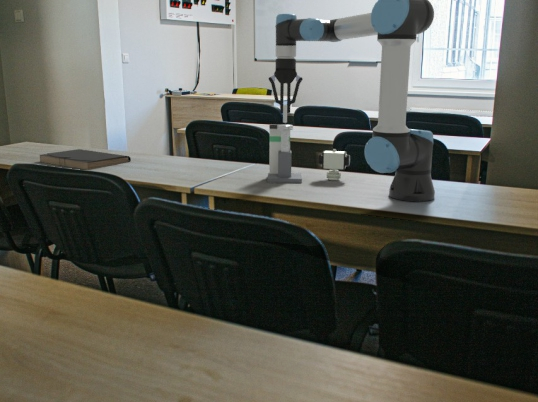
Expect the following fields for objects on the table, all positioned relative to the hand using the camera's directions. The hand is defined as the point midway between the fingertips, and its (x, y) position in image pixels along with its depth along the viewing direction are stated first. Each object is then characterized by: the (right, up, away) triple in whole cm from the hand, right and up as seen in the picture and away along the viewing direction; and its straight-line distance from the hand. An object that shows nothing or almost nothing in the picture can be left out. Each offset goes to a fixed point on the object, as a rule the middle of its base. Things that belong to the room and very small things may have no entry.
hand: (285, 122), depth 218 cm
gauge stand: (0, -22, +5) cm, 22 cm away
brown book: (-89, -13, +41) cm, 99 cm away
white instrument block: (-2, -12, +3) cm, 12 cm away
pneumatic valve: (+19, -22, +6) cm, 30 cm away
